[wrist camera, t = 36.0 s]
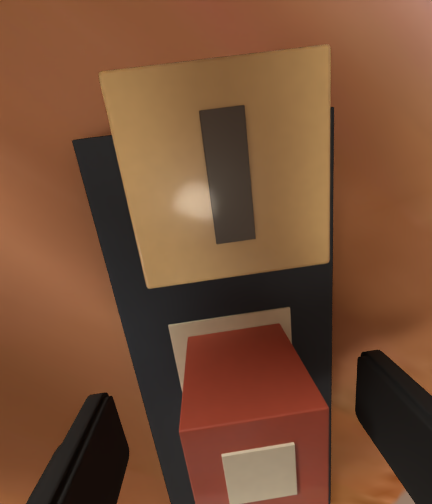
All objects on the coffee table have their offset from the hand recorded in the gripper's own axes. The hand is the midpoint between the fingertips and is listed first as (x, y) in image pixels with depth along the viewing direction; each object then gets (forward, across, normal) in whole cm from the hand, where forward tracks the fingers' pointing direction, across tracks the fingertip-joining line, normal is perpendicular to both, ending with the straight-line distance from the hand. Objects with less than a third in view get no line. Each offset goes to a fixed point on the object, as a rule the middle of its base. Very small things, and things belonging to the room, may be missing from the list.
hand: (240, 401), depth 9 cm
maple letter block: (+2, 0, -8) cm, 8 cm away
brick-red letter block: (+2, 0, 0) cm, 2 cm away
